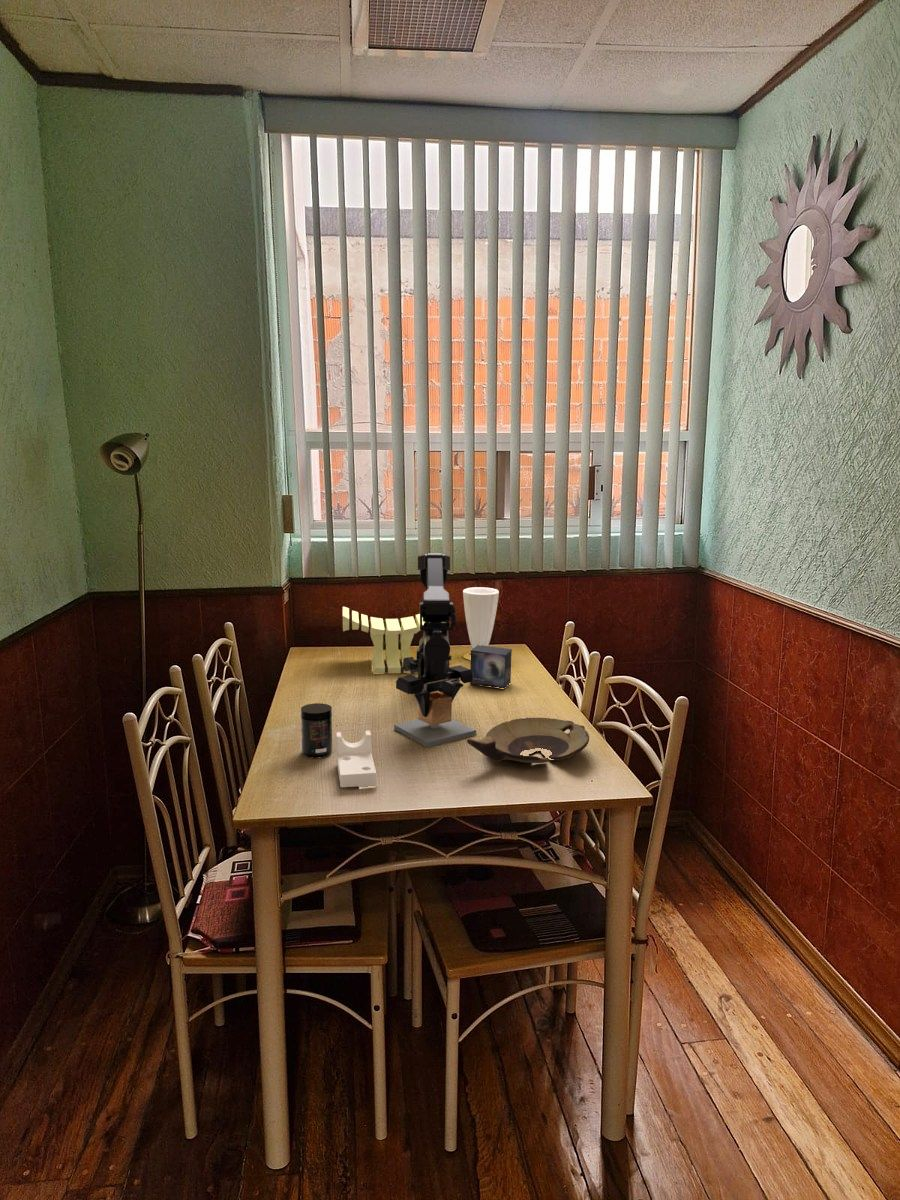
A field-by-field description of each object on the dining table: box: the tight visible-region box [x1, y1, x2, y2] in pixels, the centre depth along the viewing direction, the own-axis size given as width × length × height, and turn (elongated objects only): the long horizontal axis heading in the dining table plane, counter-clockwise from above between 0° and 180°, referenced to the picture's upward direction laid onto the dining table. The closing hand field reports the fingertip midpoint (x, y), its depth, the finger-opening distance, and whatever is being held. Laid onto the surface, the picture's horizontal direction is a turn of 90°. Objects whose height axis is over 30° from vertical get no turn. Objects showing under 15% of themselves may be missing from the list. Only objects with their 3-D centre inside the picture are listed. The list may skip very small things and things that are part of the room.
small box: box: [469, 645, 513, 688], centre depth 229 cm, size 11×6×10 cm, turn 68°
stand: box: [393, 717, 477, 748], centre depth 192 cm, size 14×14×5 cm
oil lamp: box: [466, 717, 590, 764], centre depth 178 cm, size 22×30×8 cm
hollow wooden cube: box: [417, 691, 453, 726], centre depth 191 cm, size 6×6×6 cm
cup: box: [462, 586, 500, 655], centre depth 257 cm, size 12×12×22 cm
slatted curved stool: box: [342, 606, 447, 674], centre depth 245 cm, size 30×16×18 cm, turn 97°
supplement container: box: [300, 702, 333, 759], centre depth 178 cm, size 7×7×10 cm
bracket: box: [335, 729, 377, 788], centre depth 166 cm, size 13×7×8 cm, turn 11°
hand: (434, 714), depth 192 cm, fingers closed on hollow wooden cube, 6 cm apart
